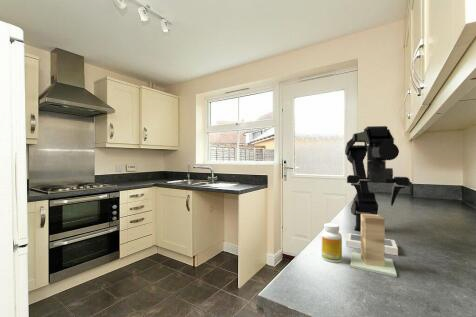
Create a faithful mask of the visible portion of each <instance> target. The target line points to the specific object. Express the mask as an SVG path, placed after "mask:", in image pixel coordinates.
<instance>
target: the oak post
mask: <svg viewBox="0 0 476 317" xmlns="http://www.w3.org/2000/svg"><path fill="white" fill-rule="evenodd" d="M385 220H386V219H385V218H384V217H383V216H381V215H380V214H377V215H374V214H361V231H360V235H361V249H360V254H361V259H362V260H363V262H364V263H365V265H373V266H382V267H385V258H386V257H385V254H386V253H385V239H386V237H385V236H386V235H385V234H386V233H385V232H386V231H385V227H386V224H385Z"/></svg>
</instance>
